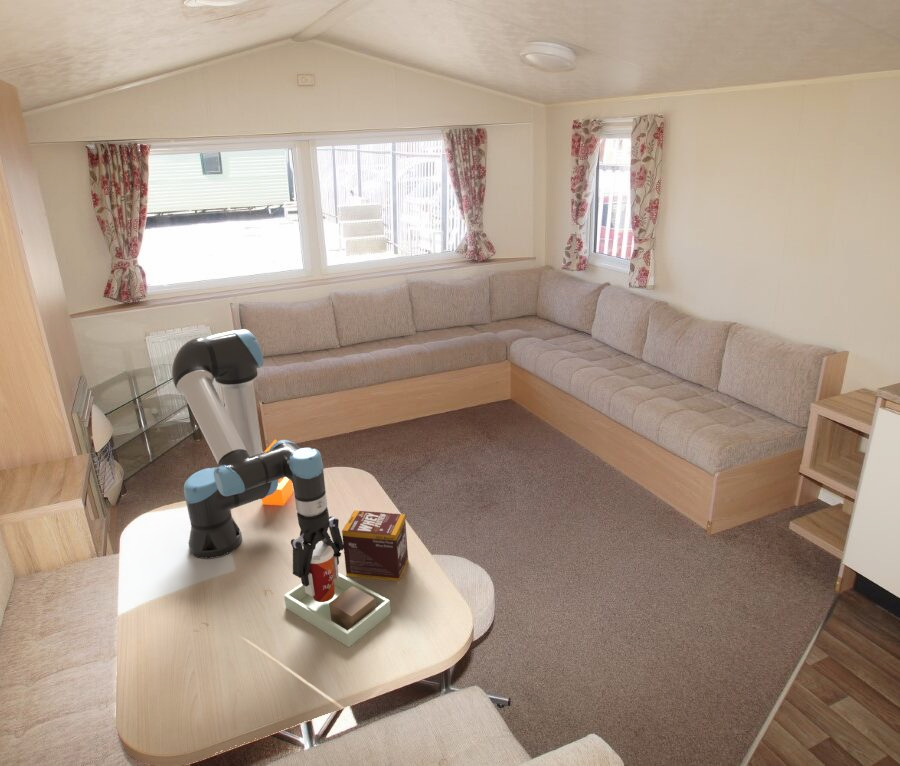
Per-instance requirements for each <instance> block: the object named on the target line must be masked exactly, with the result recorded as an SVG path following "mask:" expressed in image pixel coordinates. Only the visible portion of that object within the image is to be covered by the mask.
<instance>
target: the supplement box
mask: <svg viewBox="0 0 900 766" xmlns="http://www.w3.org/2000/svg"><path fill="white" fill-rule="evenodd" d="M341 538H342V542H343V545H344V549H343V554H344V564H345V572H346V573H345V574H346V576H345V577H349V578H350V577H352V578H360V579H361V578H362V579H373V580H380V581H381V580H383V581H390V582H391V581H392V582H400V580H401V577H403V575H404V572H405V570H406V567H407V565H408V562H409V553H408V536H407V523H406V514H405V513H392V512H381V511H379V512H378V511H370V510H369V511H368V510H367V511H366V510H354V511H353V513H352V514H351V515H350V517H349V519H348V521H347V522H346V524H345V525H344V527H343V528H342V530H341Z"/></svg>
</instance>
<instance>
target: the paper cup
mask: <svg viewBox="0 0 900 766" xmlns="http://www.w3.org/2000/svg"><path fill="white" fill-rule="evenodd" d="M333 555H334V550H333V549H332V547H331V546H329V545H327V544H325V543H323V541H319V542H318V543H317V544H316V547H315V550H313V555H312V560H311V565H310V570H309V573H311V574H312V579H313V586H314V594H315V595H314V596H313V598H314V600H315V601H317V602H326V601H329V600H331V599H332V598H333V597H334V594H335V589H334V566H333Z"/></svg>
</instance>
